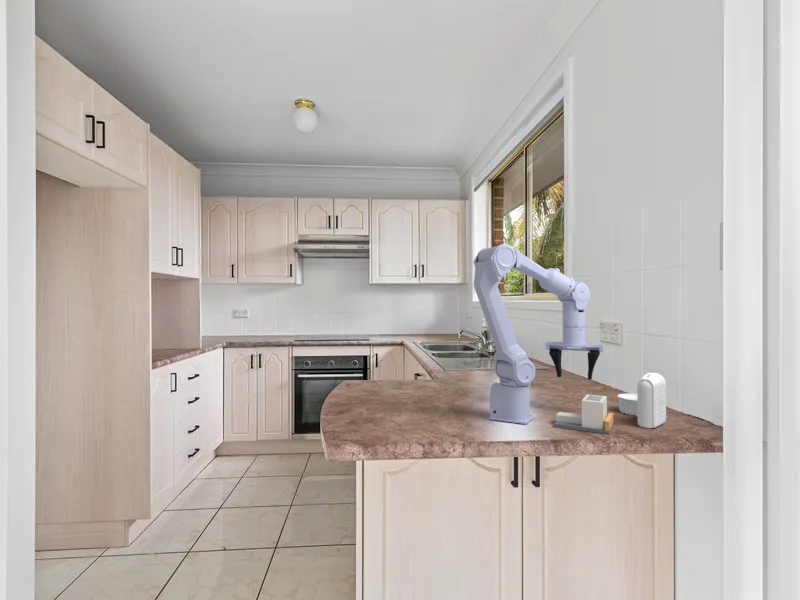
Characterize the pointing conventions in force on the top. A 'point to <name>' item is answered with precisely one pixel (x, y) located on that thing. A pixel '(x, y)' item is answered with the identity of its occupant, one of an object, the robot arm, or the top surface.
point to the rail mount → (575, 422)
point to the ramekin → (628, 403)
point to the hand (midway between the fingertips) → (574, 377)
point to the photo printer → (651, 400)
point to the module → (594, 411)
